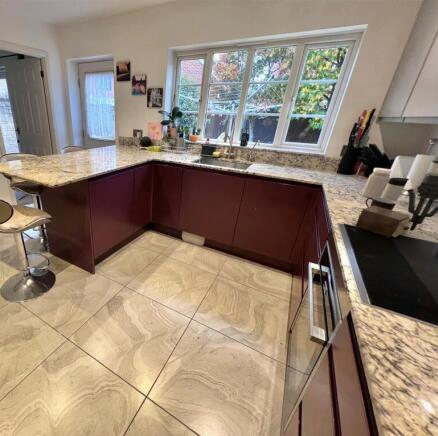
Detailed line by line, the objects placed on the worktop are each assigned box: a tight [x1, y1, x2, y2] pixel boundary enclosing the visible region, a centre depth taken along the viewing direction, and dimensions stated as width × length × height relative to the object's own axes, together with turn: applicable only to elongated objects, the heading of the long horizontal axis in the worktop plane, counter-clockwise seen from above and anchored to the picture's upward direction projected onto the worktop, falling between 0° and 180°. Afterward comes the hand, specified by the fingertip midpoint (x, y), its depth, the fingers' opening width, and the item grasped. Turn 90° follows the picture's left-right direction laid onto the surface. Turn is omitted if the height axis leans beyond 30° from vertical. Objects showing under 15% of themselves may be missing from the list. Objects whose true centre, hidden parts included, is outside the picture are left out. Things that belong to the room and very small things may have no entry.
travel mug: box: [381, 177, 410, 211], centre depth 118 cm, size 6×7×20 cm
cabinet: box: [354, 205, 412, 239], centre depth 104 cm, size 13×12×9 cm
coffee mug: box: [365, 197, 398, 210], centre depth 116 cm, size 12×9×10 cm
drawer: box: [392, 217, 412, 238], centre depth 102 cm, size 13×10×7 cm
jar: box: [361, 167, 393, 199], centre depth 147 cm, size 10×10×18 cm
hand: (411, 230), depth 98 cm, fingers closed
